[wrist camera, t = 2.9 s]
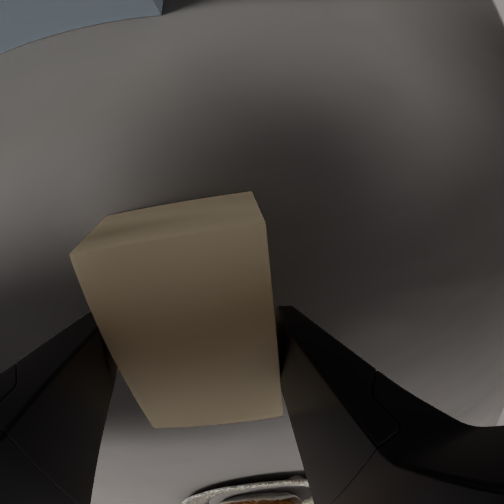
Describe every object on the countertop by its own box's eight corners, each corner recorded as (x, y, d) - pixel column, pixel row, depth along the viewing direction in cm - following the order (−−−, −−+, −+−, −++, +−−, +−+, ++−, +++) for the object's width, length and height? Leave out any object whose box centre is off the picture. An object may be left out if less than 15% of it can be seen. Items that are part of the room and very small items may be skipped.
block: (270, 360, 10) (283, 415, 8) (161, 373, 10) (153, 428, 8) (251, 191, 8) (265, 222, 6) (106, 215, 8) (69, 254, 5)
